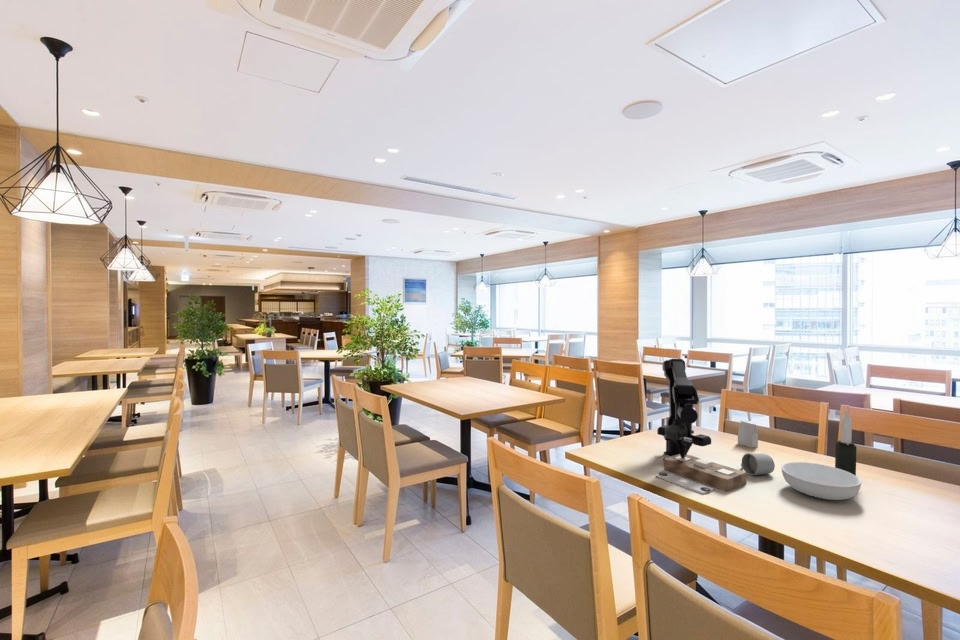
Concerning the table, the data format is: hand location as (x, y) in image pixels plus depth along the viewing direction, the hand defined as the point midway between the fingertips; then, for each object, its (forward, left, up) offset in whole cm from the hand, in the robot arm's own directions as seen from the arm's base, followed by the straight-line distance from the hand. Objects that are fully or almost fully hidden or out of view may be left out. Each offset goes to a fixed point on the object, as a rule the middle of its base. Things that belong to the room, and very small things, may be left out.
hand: (682, 457), depth 168 cm
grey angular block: (-2, +51, -5) cm, 51 cm away
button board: (+8, 0, -4) cm, 9 cm away
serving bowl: (+37, +18, -5) cm, 41 cm away
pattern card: (+8, -12, -4) cm, 15 cm away
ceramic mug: (+16, +20, -5) cm, 26 cm away
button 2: (+16, 0, -3) cm, 16 cm away
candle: (+37, +39, -5) cm, 54 cm away
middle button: (+8, 0, -2) cm, 8 cm away
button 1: (0, 0, -3) cm, 3 cm away
